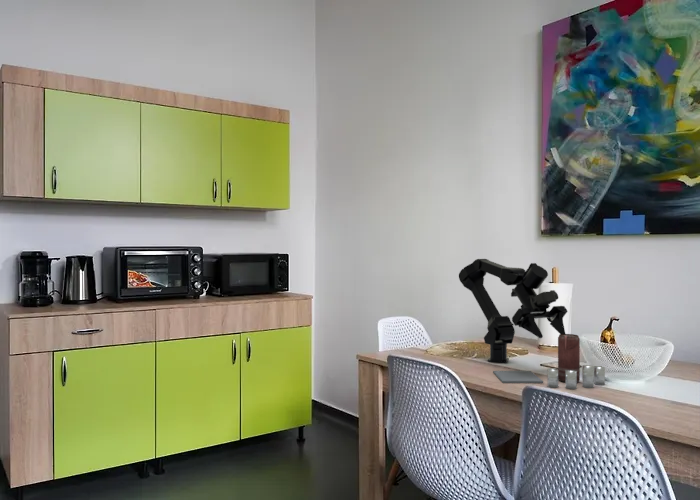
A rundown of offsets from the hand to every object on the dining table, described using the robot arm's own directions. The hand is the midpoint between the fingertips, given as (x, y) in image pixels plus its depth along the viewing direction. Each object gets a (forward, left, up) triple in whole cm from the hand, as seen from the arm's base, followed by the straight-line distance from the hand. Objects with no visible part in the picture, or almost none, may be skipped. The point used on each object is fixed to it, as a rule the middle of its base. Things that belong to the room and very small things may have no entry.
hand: (553, 336), depth 180 cm
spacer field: (+8, +8, -13) cm, 17 cm away
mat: (+6, -10, -13) cm, 17 cm away
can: (+5, +5, -13) cm, 14 cm away
